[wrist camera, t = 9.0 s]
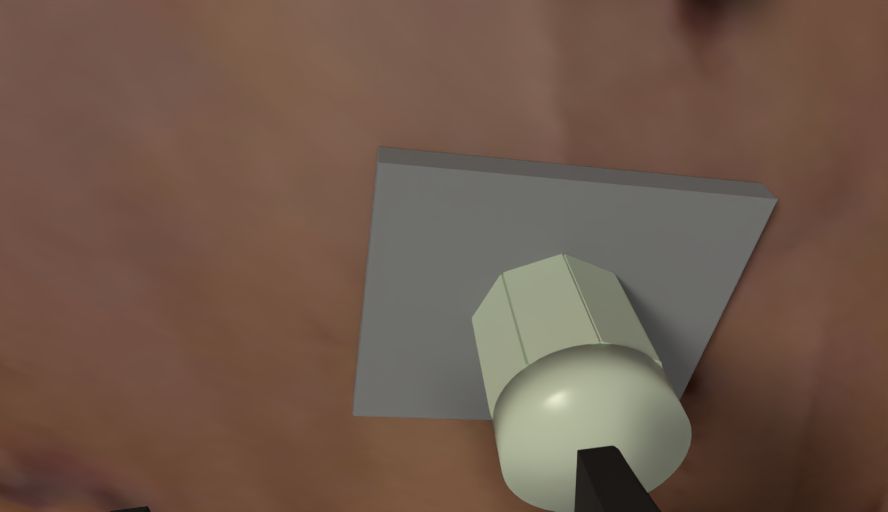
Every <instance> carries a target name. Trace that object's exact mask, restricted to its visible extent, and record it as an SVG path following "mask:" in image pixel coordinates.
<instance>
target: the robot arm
mask: <svg viewBox="0 0 888 512" xmlns="http://www.w3.org/2000/svg"><path fill="white" fill-rule="evenodd" d="M110 512H150V510H149V508H148V506H146V507H138V508H131V509H123V510H115V511H110ZM574 512H661V511H660V509H659V508H658V507H657V505H656V504H655V503H654V501H653V500H652V498H651V497H650V495H649V494H648V493H647V491H646V490H645V488H644V487H643V485H642V484H641V483H640V481H639V480H638V478H637V477H636V475H635V474H634V472H633V471H632V469H631V467H630V466H629V464H628V463H627V461H626V460H625V458H624V457H623V455H622V453H621V452H620V450H619V449H618V448H616V447H615V446H613V445H611V446H604V447H596V448H589V449H581V450H577V467H576V487H575V508H574Z"/></svg>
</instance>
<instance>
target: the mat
mask: <svg viewBox="0 0 888 512" xmlns="http://www.w3.org/2000/svg"><path fill="white" fill-rule="evenodd" d="M777 200H778V199H777V198H776V197H775V196H774V195H773V194H772V193H771V192H770V191H769V190H768V189H767V188H766V187H765V186H764V185H763V184H762V183H752V182H742V181H731V180H721V179H710V178H700V177H690V176H679V175H669V174H658V173H648V172H637V171H627V170H616V169H606V168H595V167H585V166H575V165H564V164H554V163H543V162H533V161H522V160H512V159H501V158H491V157H481V156H470V155H460V154H449V153H439V152H428V151H418V150H407V149H397V148H386V147H378V154H377V164H376V174H375V184H374V195H373V205H372V215H371V225H370V235H369V245H368V255H367V265H366V275H365V285H364V295H363V305H362V315H361V325H360V336H359V346H358V356H357V366H356V376H355V386H354V398H353V416H374V417H406V418H439V419H471V420H493V419H492V417H491V414H490V410H489V405H488V400H487V395H486V390H485V385H484V380H483V375H482V370H481V364H480V359H479V354H478V349H477V344H476V339H475V334H474V329H473V324H472V317H473V315H474V314H475V312H476V311H477V309H478V308H479V306H480V305H481V303H482V302H483V300H484V299H485V297H486V296H487V294H488V293H489V291H490V290H491V288H492V287H493V285H494V283H495V282H496V280H497V279H498V277H499V276H500V274H502V275H503V272H506V271H509V270H512V269H515V268H518V267H522V266H525V265H528V264H531V263H534V262H537V261H541V260H544V259H547V258H550V257H553V256H556V255H560V254H562V255H564V254H566V255H569V256H571V257H574V258H576V259H579V260H582V261H584V262H587V263H589V264H592V265H594V266H597V267H599V268H602V269H604V270H607V271H609V272H612V273H614V274H615V275H616V277H617V278H618V280H619V282H620V284H621V286H622V288H623V290H624V292H625V294H626V296H627V298H628V300H629V302H630V303H631V305H632V307H633V309H634V311H635V313H636V315H637V317H638V319H639V321H640V323H641V325H642V326H643V328H644V330H645V332H646V334H647V336H648V338H649V340H650V342H651V344H652V346H653V348H654V350H655V351H656V353H657V355H658V357H659V359H660V361H661V363H662V368H663V371H664V372H665V374H666V376H667V378H668V380H669V382H670V384H671V386H672V388H673V390H674V392H675V394H676V396H677V398H678V400H679V401H680V399H681V397H682V394H683V392H684V390H685V388H686V386H687V384H688V382H689V380H690V378H691V376H692V374H693V372H694V370H695V368H696V366H697V364H698V362H699V360H700V358H701V356H702V354H703V351H704V349H705V347H706V345H707V343H708V341H709V339H710V337H711V335H712V333H713V331H714V329H715V327H716V325H717V323H718V321H719V319H720V317H721V315H722V313H723V311H724V309H725V306H726V304H727V302H728V300H729V298H730V296H731V294H732V292H733V290H734V288H735V286H736V284H737V282H738V280H739V278H740V276H741V274H742V272H743V270H744V268H745V266H746V263H747V261H748V259H749V257H750V255H751V253H752V251H753V249H754V247H755V245H756V243H757V241H758V239H759V237H760V235H761V233H762V231H763V229H764V227H765V225H766V223H767V221H768V218H769V216H770V214H771V212H772V210H773V208H774V206H775V204H776V202H777Z"/></svg>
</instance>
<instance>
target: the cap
mask: <svg viewBox="0 0 888 512" xmlns="http://www.w3.org/2000/svg"><path fill="white" fill-rule="evenodd" d="M472 324H473V329H474V334H475V339H476V344H477V349H478V354H479V359H480V364H481V370H482V375H483V380H484V385H485V390H486V395H487V400H488V405H489V410H490V414H491V417H492V419H493V429H494V434H495V439H496V444H497V449H498V454H499V459H500V464H501V469H502V474H503V477H504V480H505V482H506V484H507V485H508V487H509V488H510V489H511V491H512V492H513V493H514V494H515V495H517V496H518V497H519V498H520V499H522V500H523V501H525V502H527V503H529V504H531V505H533V506H536V507H539V508H542V509H545V510H550V511H555V512H574V508H575V487H576V467H577V450H581V449H589V448H596V447H604V446H611V445H613V446H615V447H616V448H618V449H619V450H620V452H621V453H622V455H623V457H624V458H625V460H626V461H627V463H628V464H629V466H630V467H631V469H632V471H633V472H634V474H635V475H636V477H637V478H638V480H639V481H640V483H641V484H642V485H643V487H644V488H645V490H646V491H647V493H648V492H650V491H651V490H653V489H655V488H656V487H657V486H659V485H660V484H662V483H663V482H664V481H665V480H666V479H668V478H669V477H670V476H671V475H672V474H673V473H674V472H675V471H676V469H677V468H678V467H679V466H680V464H681V463H682V461H683V460H684V458H685V456H686V454H687V452H688V449H689V447H690V443H691V436H692V434H691V425H690V422H689V419H688V417H687V415H686V413H685V411H684V409H683V407H682V405H681V403H680V401H679V400H678V398H677V396H676V394H675V392H674V390H673V388H672V386H671V384H670V382H669V380H668V378H667V376H666V374H665V372H664V371H663V368H662V363H661V361H660V359H659V357H658V355H657V353H656V351H655V350H654V348H653V346H652V344H651V342H650V340H649V338H648V336H647V334H646V332H645V330H644V328H643V326H642V325H641V323H640V321H639V319H638V317H637V315H636V313H635V311H634V309H633V307H632V305H631V303H630V302H629V300H628V298H627V296H626V294H625V292H624V290H623V288H622V286H621V284H620V282H619V280H618V278H617V277H616V275H615V274H614V273H612V272H609V271H607V270H604V269H602V268H599V267H597V266H594V265H592V264H589V263H587V262H584V261H582V260H579V259H576V258H574V257H571V256H569V255H566V254H564V255H562V254H560V255H556V256H553V257H550V258H547V259H544V260H541V261H537V262H534V263H531V264H528V265H525V266H522V267H518V268H515V269H512V270H509V271H506V272H503V275H502V274H500V276H499V277H498V279H497V280H496V282H495V283H494V285H493V287H492V288H491V290H490V291H489V293H488V294H487V296H486V297H485V299H484V300H483V302H482V303H481V305H480V306H479V308H478V309H477V311H476V312H475V314H474V315H473V317H472Z"/></svg>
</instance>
